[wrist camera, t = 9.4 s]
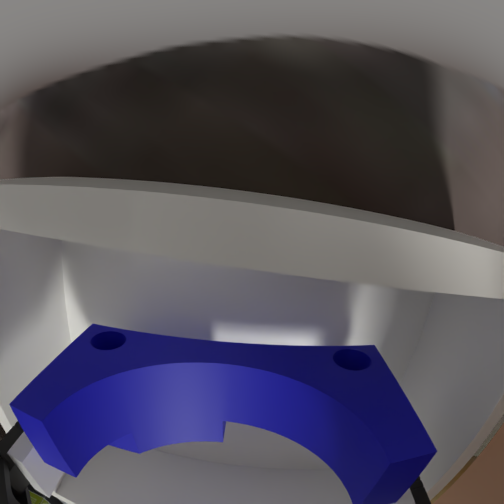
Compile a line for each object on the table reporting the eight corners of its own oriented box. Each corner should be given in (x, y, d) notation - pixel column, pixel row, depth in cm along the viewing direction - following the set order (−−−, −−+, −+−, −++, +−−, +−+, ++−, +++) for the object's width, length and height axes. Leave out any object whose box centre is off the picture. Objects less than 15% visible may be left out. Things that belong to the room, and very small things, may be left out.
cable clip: (110, 399, 12) (59, 482, 6) (92, 323, 11) (8, 403, 5) (350, 420, 12) (380, 518, 6) (374, 344, 11) (437, 451, 5)
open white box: (455, 230, 13) (565, 270, 5) (358, 465, 17) (378, 541, 9) (59, 176, 13) (-56, 185, 5) (89, 426, 17) (47, 492, 9)
